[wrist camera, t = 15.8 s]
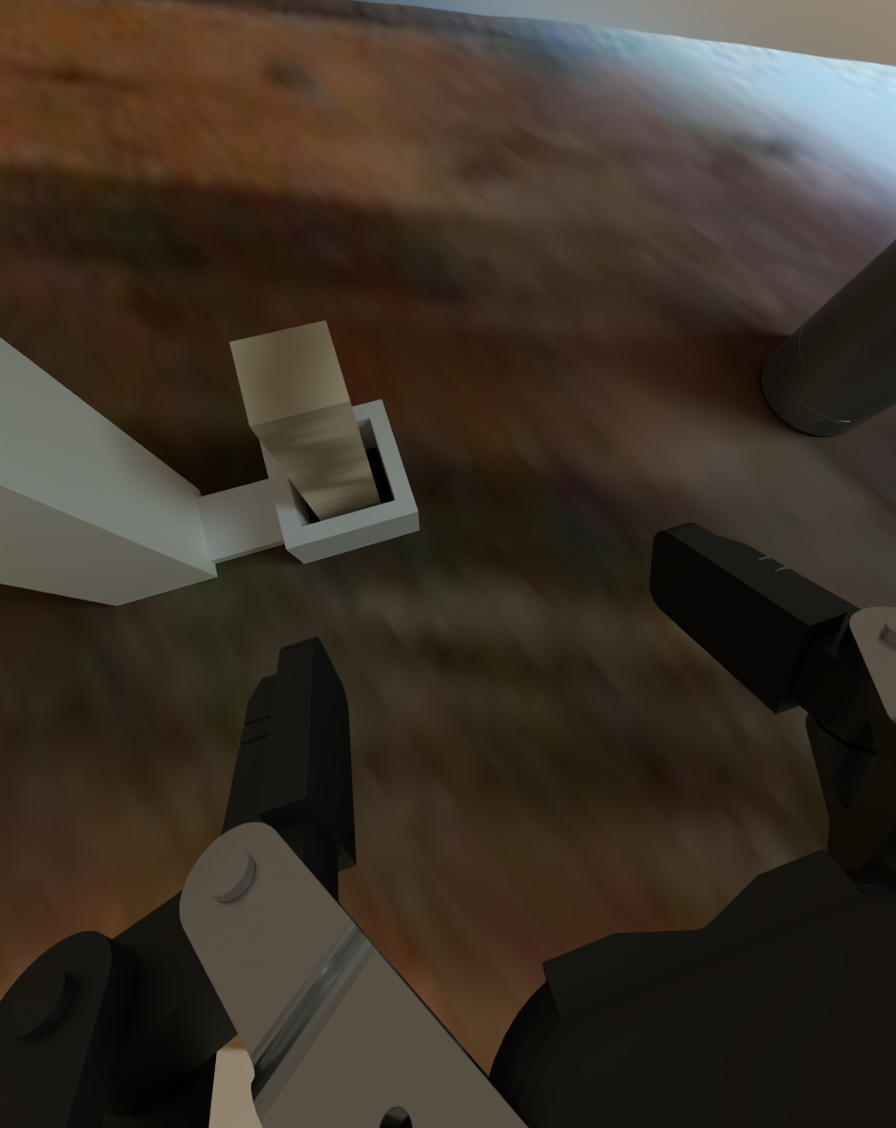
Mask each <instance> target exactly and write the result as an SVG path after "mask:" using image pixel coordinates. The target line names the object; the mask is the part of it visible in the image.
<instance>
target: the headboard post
mask: <svg viewBox="0 0 896 1128" xmlns="http://www.w3.org/2000/svg"><path fill="white" fill-rule="evenodd" d="M352 409H353V412H354V416H355V419H356V422H357V425H358V429H359V432H360V435H361V439H362V442H363V445H364V449H365V450H367V449H371V448H374V447H377V449H378V453H379V456H380V459H381V462H382V465H383V469H384V472H385V475H386V478H387V482H388V485H389V488H390V491H391V494H392V498H393V501H391V502H387V503H384V504H380V505H377V506H373V507H370V508H366V509H363V510H359V511H356V512H352V513H348V514H345V515H341V516H338V517H334V518H331V519H327V520H324V521H320V522H317V523H313V524H311V522H310V518H309V514H308V510H307V507H306V503H305V499H304V498H303V497H302V495H301V494H300V493H299V491H298V490H297V489H296V487H295V486H294V485H293V483H292V482H291V481H290V479H289V478H288V477H287V475H286V474H285V473H284V471H283V470H282V469H281V467H280V466H279V465H278V463H277V462H276V461H275V459H274V458H273V457H272V455H271V454H270V453H269V451H268V450H267V449H266V447H265V446H264V445H263V443H262V442H261V441H260V445H261V449H262V453H263V457H264V461H265V465H266V469H267V473H268V477H269V479H266V480H262V481H258V482H255V483H251V484H247V485H244V486H240V487H236V488H232V489H229V490H225V491H221V492H217V493H214V494H210V495H206V496H202V497H201V493H200V490H199V489H198V488H196V487H195V486H194V485H192V484H191V483H190V482H188V481H187V480H186V479H184V478H183V477H182V476H181V475H179V474H178V473H177V472H175V471H174V470H173V469H171V468H170V467H169V466H167V465H166V464H165V463H164V462H162V461H161V460H160V459H158V458H157V457H156V456H154V455H153V454H152V453H150V452H149V451H148V450H147V449H145V448H144V447H143V446H141V445H140V444H139V443H137V442H136V441H135V440H134V439H132V438H131V437H130V436H128V435H127V434H126V433H124V432H123V431H122V430H120V429H119V428H118V427H117V426H115V425H114V424H113V423H111V422H110V421H109V420H107V419H106V418H105V417H103V416H102V415H101V414H100V413H98V412H97V411H96V410H94V409H93V408H92V407H90V406H89V405H88V404H86V403H85V402H84V401H83V400H81V399H80V398H79V397H77V396H76V395H75V394H73V393H72V392H71V391H69V390H68V389H67V388H66V387H64V386H63V385H62V384H60V383H59V382H58V381H56V380H55V379H54V378H52V377H51V376H50V375H49V374H47V373H46V372H45V371H43V370H42V369H41V368H39V367H38V366H37V365H35V364H34V363H33V362H32V361H30V360H29V359H28V358H26V357H25V356H24V355H22V354H21V353H20V352H19V351H17V350H16V349H15V348H13V347H12V346H11V345H9V344H8V343H7V342H5V341H4V340H3V339H2V338H0V584H5V585H11V586H16V587H21V588H26V589H31V590H37V591H42V592H47V593H52V594H57V595H63V596H68V597H73V598H78V599H83V600H88V601H94V602H99V603H104V604H109V605H114V606H118V605H122V604H125V603H129V602H132V601H136V600H139V599H143V598H146V597H150V596H153V595H157V594H160V593H163V592H167V591H170V590H174V589H177V588H181V587H184V586H188V585H191V584H195V583H198V582H201V581H205V580H208V579H212V578H215V577H218V576H217V571H216V567H215V564H217V563H220V562H224V561H227V560H231V559H234V558H238V557H241V556H245V555H248V554H252V553H255V552H259V551H262V550H266V549H269V548H273V547H276V546H280V545H283V544H285V547H286V550H288V551H289V552H290V553H291V554H293V555H294V556H295V557H296V558H297V559H299V560H300V561H301V562H302V563H304V564H306V563H309V562H313V561H316V560H320V559H323V558H326V557H330V556H333V555H337V554H340V553H344V552H347V551H350V550H354V549H357V548H361V547H364V546H368V545H371V544H374V543H378V542H381V541H385V540H388V539H391V538H395V537H398V536H402V535H405V534H409V533H412V532H415V531H419V519H418V510H417V507H416V504H415V501H414V498H413V495H412V492H411V488H410V485H409V482H408V479H407V476H406V473H405V470H404V467H403V464H402V461H401V458H400V454H399V451H398V448H397V445H396V442H395V439H394V436H393V433H392V430H391V427H390V423H389V420H388V417H387V414H386V411H385V408H384V405H383V402H382V399H381V400H377V401H373V402H369V403H365V404H361V405H357V406H353V407H352ZM259 440H260V439H259Z"/></svg>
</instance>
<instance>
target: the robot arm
mask: <svg viewBox="0 0 896 1128" xmlns="http://www.w3.org/2000/svg"><path fill="white" fill-rule="evenodd" d="M761 384H762V390H763V392H764V395H765V398H766V400H767V401H768V403H769V405H770V406H771V408H772V409H773V410H774V411H775V412H776V414H777V415H778V416H779V417H780V418H781V419H783V420H784V421H785V422H786V423H788V424H789V425H791V426H793V427H794V428H796V429H798V430H800V431H803V432H806V433H809V434H812V435H818V436H835V435H839V434H843V433H845V432H847V431H849V430H851V429H853V428H854V427H856V426H858V425H860V424H862V423H863V422H865V421H867V420H869V419H871V418H872V417H874V416H876V415H878V414H880V413H881V412H883V411H885V410H887V409H889V408H890V407H892V406H894V405H896V240H894V241H893V242H892V243H891V244H890V245H889V246H888V247H887V248H886V249H885V250H884V251H882V252H881V253H880V254H879V255H878V256H877V257H876V258H875V259H874V260H873V261H872V262H870V263H869V264H868V265H867V266H866V267H865V268H864V269H863V270H862V271H861V272H860V273H858V274H857V275H856V276H855V277H854V278H853V279H852V280H851V281H850V282H849V283H848V284H846V285H845V286H844V287H843V288H842V289H841V290H840V291H839V292H838V293H837V294H836V295H834V296H833V297H832V298H831V299H830V300H829V301H828V302H827V303H826V304H825V305H824V306H822V307H821V308H820V309H819V310H818V311H817V312H816V313H815V314H814V315H812V316H811V317H810V318H809V319H808V320H807V321H806V322H805V323H804V324H802V325H801V326H800V327H799V328H798V329H797V330H796V331H795V332H794V333H793V334H792V335H790V336H789V337H788V338H787V339H786V340H785V341H784V342H783V343H782V344H781V345H780V346H778V347H777V348H776V349H775V350H774V351H773V352H772V353H771V354H770V355H769V356H768V358H767V359H766V360H765V363H764V365H763V368H762V372H761ZM649 586H650V592H651V595H652V598H653V600H654V602H655V603H656V605H657V606H658V607H659V609H660V610H662V611H663V612H664V613H665V614H666V615H667V616H668V617H669V618H670V619H671V620H673V621H674V622H675V623H676V624H677V625H678V626H679V627H680V628H681V629H682V630H684V631H685V632H686V633H687V634H688V635H689V636H690V637H691V638H692V639H693V640H695V641H696V642H697V643H698V644H699V645H700V646H701V647H702V648H703V649H704V650H706V651H707V652H708V653H709V654H710V655H711V656H712V657H713V658H714V659H715V660H717V661H718V662H719V663H720V664H721V665H722V666H723V667H724V668H725V669H726V670H728V671H729V672H730V673H731V674H732V675H733V676H734V677H735V678H736V679H737V680H738V681H740V682H741V683H742V684H743V685H744V686H745V687H746V688H747V689H748V690H749V691H751V692H752V693H753V694H754V695H755V696H756V697H757V698H758V699H759V700H760V701H762V702H763V703H764V704H765V705H766V706H767V707H768V708H769V709H770V710H771V711H773V712H774V713H775V714H778V713H781V712H783V711H786V710H789V709H792V708H794V707H797V706H801V707H802V708H803V709H805V710H806V711H807V712H808V715H807V717H806V722H805V724H806V729H807V733H808V737H809V741H810V745H811V749H812V753H813V757H814V760H815V764H816V768H817V772H818V776H819V780H820V784H821V788H822V792H823V795H824V799H825V803H826V807H827V811H828V816H829V836H828V843H827V852H826V851H825V850H824V849H821V850H819V851H816V852H814V853H812V854H809V855H807V856H804V857H802V858H799V859H797V860H794V861H792V862H789V863H787V864H784V865H782V866H779V867H777V868H775V869H772V870H770V871H767V872H765V873H762V874H760V875H758V876H757V877H756V878H755V879H754V880H753V881H752V882H751V883H750V884H749V885H748V886H747V887H746V888H745V889H744V890H743V891H742V892H741V893H740V894H739V895H738V896H737V897H736V898H735V899H734V900H733V901H732V902H731V903H730V904H729V905H728V906H727V907H726V908H725V909H724V910H723V911H722V912H721V913H720V914H719V915H718V916H717V917H716V918H715V919H714V920H713V921H712V922H711V923H710V924H708V925H707V926H706V927H704V928H702V929H698V930H686V931H660V932H635V933H614V934H612V935H609V936H607V937H604V938H602V939H600V940H597V941H595V942H592V943H590V944H587V945H585V946H582V947H580V948H577V949H575V950H572V951H570V952H567V953H565V954H563V955H560V956H558V957H555V958H553V959H550V960H548V961H545V962H543V963H542V965H543V969H544V974H545V978H546V982H545V983H544V984H543V985H542V986H541V987H540V988H539V989H538V990H537V991H536V992H535V993H534V994H533V995H532V996H531V997H530V998H529V1000H528V1001H527V1002H526V1003H525V1005H524V1006H523V1007H522V1009H521V1010H520V1011H519V1012H518V1014H517V1015H516V1017H515V1019H514V1021H513V1022H512V1024H511V1026H510V1027H509V1029H508V1031H507V1032H506V1034H505V1036H504V1038H503V1041H502V1043H501V1045H500V1048H499V1050H498V1052H497V1054H496V1057H495V1059H494V1062H493V1065H492V1068H491V1071H490V1074H489V1077H488V1075H487V1074H486V1073H485V1072H484V1071H483V1070H482V1068H481V1067H480V1066H479V1065H478V1064H477V1063H476V1061H475V1060H474V1059H473V1058H472V1057H471V1056H470V1054H469V1053H468V1052H467V1051H466V1050H465V1049H464V1047H463V1046H462V1045H461V1044H460V1043H459V1042H458V1040H457V1039H456V1038H455V1037H454V1036H453V1035H452V1033H451V1032H450V1031H449V1030H448V1029H447V1028H446V1026H445V1025H444V1024H443V1023H442V1022H441V1021H440V1020H439V1018H438V1017H437V1016H436V1015H435V1014H434V1013H433V1011H432V1010H431V1009H430V1008H429V1007H428V1006H427V1005H426V1003H425V1002H424V1001H423V1000H422V999H421V998H420V996H419V995H418V994H417V993H416V992H415V991H414V990H413V988H412V987H411V986H410V985H409V984H408V983H407V981H406V980H405V979H404V978H403V977H402V976H401V974H400V973H399V972H398V971H397V970H396V969H395V967H394V966H393V965H392V964H391V963H390V962H389V960H388V959H387V958H386V957H385V956H384V955H383V953H382V952H381V951H380V950H379V949H378V948H377V946H376V945H375V944H374V943H373V942H372V941H371V939H370V938H369V937H368V936H367V935H366V934H365V932H364V931H363V930H362V929H361V928H360V927H359V925H358V924H357V923H356V922H355V921H354V920H353V918H352V917H351V916H350V915H349V914H348V913H347V911H346V910H345V909H344V908H343V907H342V906H341V904H340V903H339V902H338V872H340V871H342V870H345V869H348V868H350V867H353V866H356V848H355V828H354V809H353V789H352V770H351V750H350V731H349V711H348V703H347V698H346V694H345V691H344V688H343V685H342V683H341V680H340V678H339V676H338V674H337V672H336V670H335V668H334V666H333V664H332V662H331V660H330V658H329V656H328V654H327V652H326V650H325V648H324V646H323V644H322V642H321V641H320V639H319V638H318V637H313V638H310V639H307V640H303V641H300V642H297V643H294V644H290V645H287V646H284V647H282V648H281V650H280V654H279V661H278V668H277V674H275V675H272V676H269V677H265V678H262V680H261V682H260V683H259V685H258V686H257V688H256V690H255V691H254V693H253V695H252V696H251V698H250V699H249V701H248V706H247V711H246V716H245V721H244V725H245V728H243V731H242V736H241V741H240V744H241V748H239V751H238V756H237V761H236V766H235V771H234V776H233V781H232V786H231V791H230V796H229V801H228V806H227V811H226V816H225V821H224V826H223V829H222V833H221V836H220V837H219V838H218V839H216V840H215V841H214V842H213V843H212V844H211V845H210V846H209V847H208V848H207V849H206V850H205V851H204V852H203V854H202V855H201V856H200V858H199V859H198V860H197V862H196V863H195V865H194V866H193V868H192V870H191V871H190V873H189V876H188V878H187V880H186V882H185V885H184V888H183V889H182V890H181V891H180V892H179V893H178V894H176V895H175V896H174V897H172V898H171V899H170V900H168V901H167V902H165V903H164V904H162V905H161V906H160V907H158V908H157V909H155V910H154V911H152V912H151V913H150V914H148V915H147V916H145V917H144V918H142V919H141V920H140V921H138V922H137V923H135V924H134V925H132V926H131V927H129V928H128V929H127V930H125V931H124V932H122V933H121V934H119V935H118V936H117V937H115V938H114V939H110V938H108V937H107V936H105V935H103V934H101V933H99V932H95V931H84V932H80V933H77V934H74V935H71V936H69V937H67V938H65V939H63V940H61V941H60V942H58V943H57V944H55V945H54V946H52V947H51V948H49V949H48V950H47V951H46V952H44V953H43V954H42V955H41V956H40V957H38V958H37V959H36V960H35V961H34V962H33V963H32V964H31V965H30V966H29V967H28V968H27V969H26V970H25V971H24V972H23V973H22V974H21V975H20V977H19V978H18V979H17V980H16V981H15V983H14V984H13V985H12V986H11V988H10V989H9V990H8V991H7V993H6V994H5V996H4V997H3V999H2V1000H1V1001H0V1128H209V1118H210V1109H211V1100H212V1090H213V1081H214V1073H215V1063H216V1053H217V1051H218V1050H220V1049H221V1048H222V1047H223V1046H224V1045H225V1044H227V1043H228V1042H229V1041H230V1040H231V1039H232V1038H234V1037H235V1036H236V1035H237V1034H239V1036H240V1038H241V1040H242V1042H243V1044H244V1046H245V1048H246V1050H247V1052H248V1054H249V1056H250V1058H251V1061H252V1063H253V1067H254V1071H255V1076H254V1079H253V1081H252V1084H251V1093H252V1098H253V1103H254V1106H255V1109H256V1112H257V1115H258V1117H259V1120H260V1122H261V1125H262V1127H263V1128H896V608H893V607H871V608H866V609H862V610H861V609H860V608H858V607H856V606H854V605H852V604H851V603H849V602H847V601H845V600H844V599H842V598H840V597H838V596H836V595H835V594H833V593H831V592H829V591H828V590H826V589H824V588H822V587H821V586H819V585H817V584H815V583H814V582H812V581H810V580H808V579H806V578H805V577H803V576H801V575H799V574H798V573H796V572H794V571H792V570H791V569H787V570H786V569H785V566H784V565H782V564H780V563H778V562H777V561H775V560H773V559H771V558H770V559H767V556H766V555H764V554H762V553H761V552H759V551H757V550H755V549H754V548H752V547H750V546H748V545H747V544H744V543H741V542H738V541H734V540H731V539H728V538H724V537H721V536H716V535H715V534H713V533H711V532H709V531H708V530H706V529H704V528H703V527H701V526H699V525H698V524H695V523H692V522H689V523H685V524H682V525H679V526H676V527H672V528H669V529H666V530H663V531H659V532H658V533H657V534H656V535H655V537H654V540H653V550H652V561H651V572H650V584H649Z"/></svg>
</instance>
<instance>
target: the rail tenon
mask: <svg viewBox="0 0 896 1128" xmlns="http://www.w3.org/2000/svg"><path fill="white" fill-rule="evenodd" d="M230 346H231V350H232V354H233V359H234V363H235V367H236V371H237V375H238V380H239V384H240V388H241V392H242V396H243V400H244V405H245V409H246V413H247V417H248V421H249V425H250V427H251V429H252V430H253V431H254V433H255V434H256V435H257V437H258V438H259V439H260V441H261V442H262V443H263V445H264V446H265V447H266V449H267V450H268V451H269V453H270V454H271V455H272V457H273V458H274V459H275V461H276V462H277V463H278V465H279V466H280V467H281V469H282V470H283V471H284V473H285V474H286V475H287V477H288V478H289V479H290V481H291V482H292V483H293V485H294V486H295V487H296V489H297V490H298V491H299V493H300V494H301V495H302V497H303V498H304V499H305V501H306V502H307V503H308V504H309V506H310V507H311V508H312V510H313V511H314V512H315V514H316V515H317V516H318V518H319V519H320V520H321V521H324V520H327V519H331V518H334V517H338V516H341V515H345V514H348V513H352V512H356V511H359V510H363V509H366V508H370V507H373V506H377V505H380V504H381V502H380V498H379V495H378V492H377V489H376V485H375V482H374V479H373V475H372V472H371V469H370V465H369V462H368V459H367V455H366V452H365V449H364V445H363V442H362V439H361V435H360V432H359V429H358V425H357V422H356V419H355V416H354V412H353V409H352V406H351V402H350V399H349V396H348V392H347V389H346V386H345V382H344V379H343V376H342V373H341V369H340V366H339V363H338V359H337V356H336V353H335V349H334V346H333V343H332V339H331V336H330V333H329V330H328V326H327V323H326V320H325V321H320V322H316V323H311V324H307V325H303V326H298V327H294V328H290V329H285V330H281V331H276V332H272V333H268V334H263V335H259V336H254V337H250V338H246V339H241V340H237V341H233V342H230Z"/></svg>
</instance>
